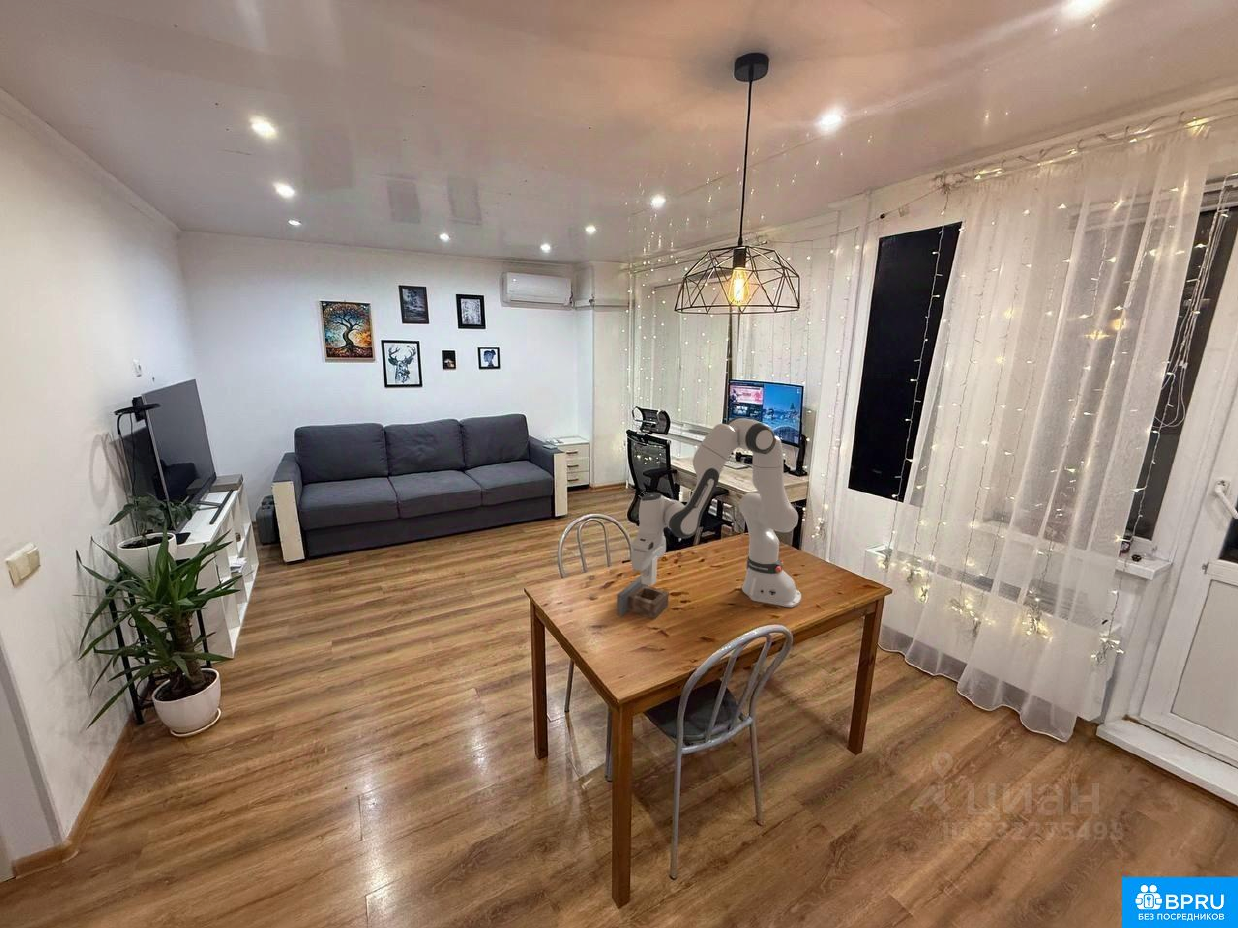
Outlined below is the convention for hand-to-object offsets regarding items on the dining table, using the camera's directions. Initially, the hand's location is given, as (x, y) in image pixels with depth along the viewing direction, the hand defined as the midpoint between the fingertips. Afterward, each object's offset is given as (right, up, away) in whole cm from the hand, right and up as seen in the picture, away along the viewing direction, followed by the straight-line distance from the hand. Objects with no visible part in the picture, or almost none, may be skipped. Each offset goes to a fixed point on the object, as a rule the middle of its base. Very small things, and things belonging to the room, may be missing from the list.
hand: (649, 573), depth 180 cm
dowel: (0, -4, +1) cm, 4 cm away
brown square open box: (0, -14, +3) cm, 14 cm away
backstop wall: (-6, -13, +7) cm, 16 cm away
